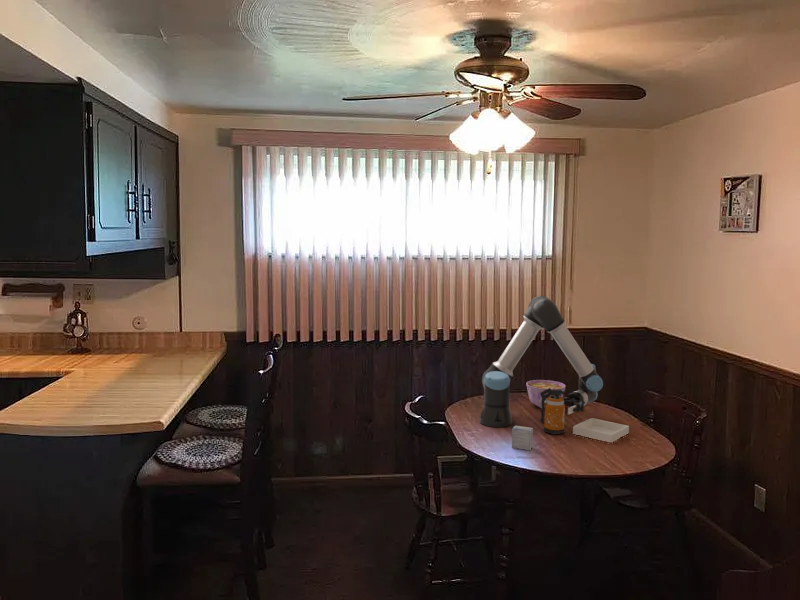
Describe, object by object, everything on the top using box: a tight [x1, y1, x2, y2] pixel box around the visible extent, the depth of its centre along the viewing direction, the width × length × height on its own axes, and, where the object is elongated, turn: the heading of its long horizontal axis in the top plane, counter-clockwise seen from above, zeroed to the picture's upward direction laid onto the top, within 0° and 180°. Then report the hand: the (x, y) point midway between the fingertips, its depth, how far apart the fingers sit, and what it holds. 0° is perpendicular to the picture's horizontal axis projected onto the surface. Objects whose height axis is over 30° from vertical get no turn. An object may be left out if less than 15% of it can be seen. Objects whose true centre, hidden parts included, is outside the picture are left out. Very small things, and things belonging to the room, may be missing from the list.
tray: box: [572, 417, 630, 442], centre depth 296 cm, size 18×18×4 cm
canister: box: [539, 388, 566, 435], centre depth 298 cm, size 9×11×20 cm
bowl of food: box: [526, 379, 566, 409], centre depth 341 cm, size 20×20×12 cm
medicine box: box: [511, 425, 534, 451], centre depth 277 cm, size 8×4×9 cm, turn 65°
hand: (554, 408), depth 299 cm, fingers open, 13 cm apart
